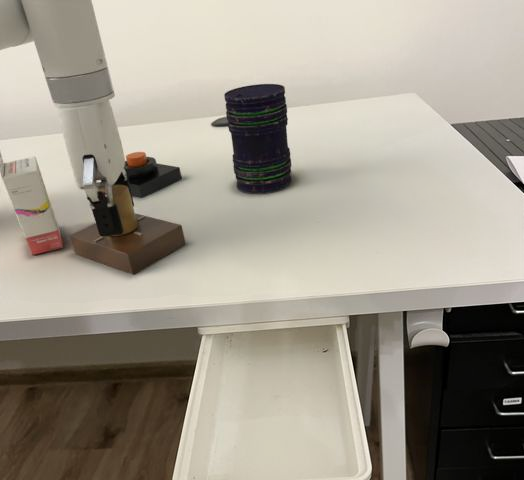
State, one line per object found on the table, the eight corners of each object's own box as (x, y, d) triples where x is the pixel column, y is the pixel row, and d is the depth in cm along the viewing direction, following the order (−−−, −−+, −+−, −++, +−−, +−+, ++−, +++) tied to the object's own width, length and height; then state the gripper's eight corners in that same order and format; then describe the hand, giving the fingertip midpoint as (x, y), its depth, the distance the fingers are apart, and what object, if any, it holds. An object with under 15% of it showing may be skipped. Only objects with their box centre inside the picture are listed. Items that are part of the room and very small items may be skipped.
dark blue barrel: (271, 169, 101) (263, 81, 92) (304, 182, 94) (298, 87, 85) (225, 184, 97) (212, 94, 88) (255, 199, 90) (244, 101, 81)
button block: (103, 189, 102) (97, 167, 100) (143, 171, 108) (138, 151, 106) (141, 197, 96) (136, 175, 94) (182, 178, 102) (177, 157, 100)
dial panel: (75, 254, 80) (68, 234, 78) (127, 228, 86) (122, 208, 84) (133, 274, 73) (127, 253, 71) (185, 244, 79) (181, 223, 77)
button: (124, 166, 100) (121, 156, 99) (138, 160, 102) (136, 150, 101) (136, 169, 98) (134, 159, 97) (151, 162, 100) (149, 153, 99)
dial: (123, 218, 81) (112, 180, 78) (145, 225, 78) (135, 185, 75) (95, 232, 78) (83, 192, 75) (117, 238, 75) (105, 198, 72)
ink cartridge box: (65, 248, 82) (30, 148, 74) (31, 256, 81) (-8, 156, 73) (60, 228, 89) (28, 134, 80) (29, 235, 88) (-8, 141, 79)
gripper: (69, 78, 74) (104, 201, 85) (29, 108, 60) (77, 251, 71) (123, 71, 74) (152, 195, 84) (96, 100, 60) (134, 244, 70)
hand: (118, 220), depth 78 cm, fingers open, 8 cm apart
